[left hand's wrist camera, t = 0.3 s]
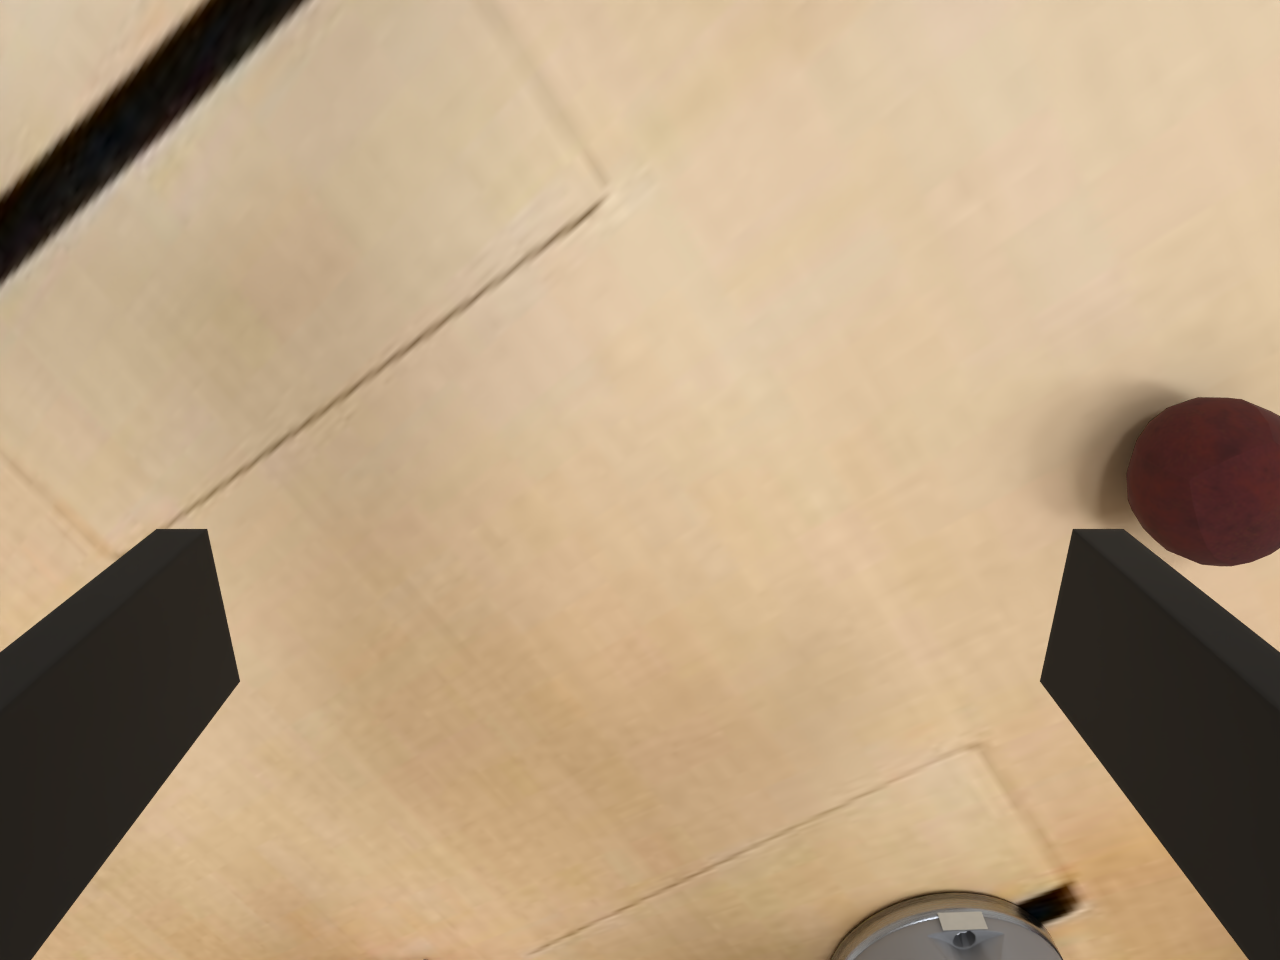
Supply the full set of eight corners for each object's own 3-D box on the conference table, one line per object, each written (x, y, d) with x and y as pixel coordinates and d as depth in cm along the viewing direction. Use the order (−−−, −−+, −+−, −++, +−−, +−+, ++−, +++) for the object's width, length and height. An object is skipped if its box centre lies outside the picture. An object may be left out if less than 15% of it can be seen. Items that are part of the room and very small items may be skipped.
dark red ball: (1128, 547, 43) (1215, 619, 36) (1072, 428, 41) (1155, 482, 34) (1268, 476, 41) (1386, 538, 35) (1219, 348, 39) (1335, 388, 33)
